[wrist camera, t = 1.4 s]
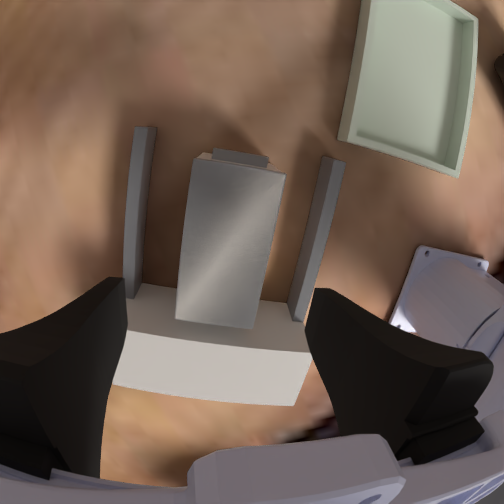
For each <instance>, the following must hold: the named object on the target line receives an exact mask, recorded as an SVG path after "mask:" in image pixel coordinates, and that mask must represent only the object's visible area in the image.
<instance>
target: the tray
mask: <svg viewBox="0 0 504 504" xmlns="http://www.w3.org/2000/svg"><path fill="white" fill-rule="evenodd" d="M477 49H478V18H476V17H475V16H473V15H472V14H470V13H469V12H467V11H466V10H464V9H463V8H461V7H460V6H458V5H457V4H455V3H453V2H452V1H450V0H361V7H360V14H359V20H358V27H357V33H356V40H355V46H354V52H353V58H352V64H351V69H350V75H349V81H348V86H347V91H346V97H345V102H344V107H343V112H342V117H341V122H340V127H339V132H338V137H337V140H339V141H343V142H346V143H350V144H354V145H357V146H361V147H364V148H368V149H371V150H374V151H378V152H381V153H384V154H387V155H390V156H393V157H396V158H400V159H403V160H406V161H408V162H411V163H414V164H417V165H420V166H423V167H426V168H428V169H431V170H434V171H437V172H439V173H442V174H445V175H448V176H451V177H454V178H457V179H458V178H459V174H460V170H461V165H462V161H463V156H464V151H465V146H466V141H467V135H468V130H469V124H470V117H471V111H472V103H473V96H474V87H475V77H476V65H477Z"/></svg>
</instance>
